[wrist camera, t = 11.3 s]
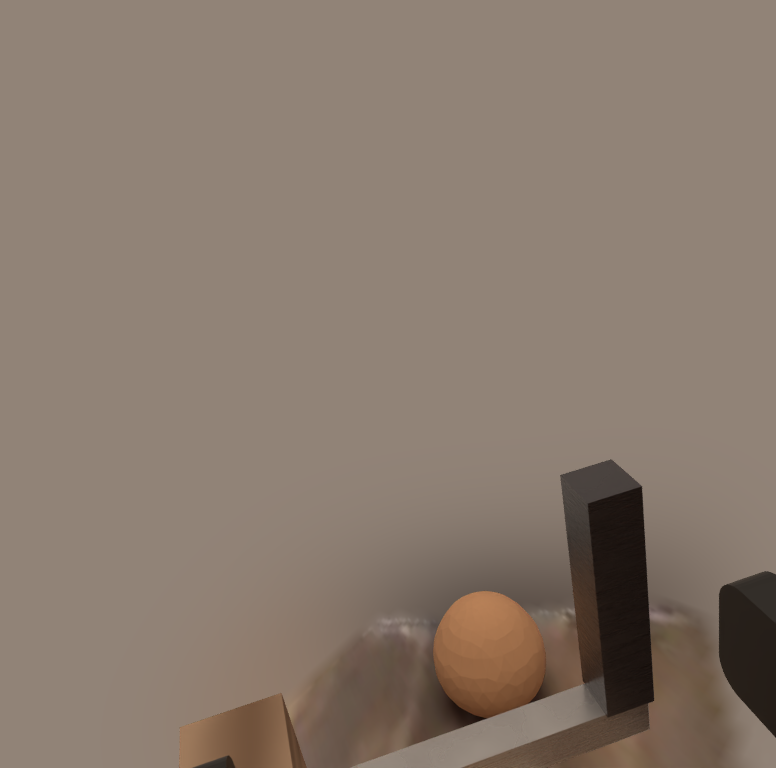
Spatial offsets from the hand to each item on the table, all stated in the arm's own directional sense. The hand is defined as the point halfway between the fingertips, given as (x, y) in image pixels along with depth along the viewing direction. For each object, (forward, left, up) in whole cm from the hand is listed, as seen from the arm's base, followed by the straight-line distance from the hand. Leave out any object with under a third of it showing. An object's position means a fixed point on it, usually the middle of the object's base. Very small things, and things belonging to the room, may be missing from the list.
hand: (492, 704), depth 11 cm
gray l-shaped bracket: (+2, +16, -22) cm, 28 cm away
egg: (+7, +28, -32) cm, 43 cm away
